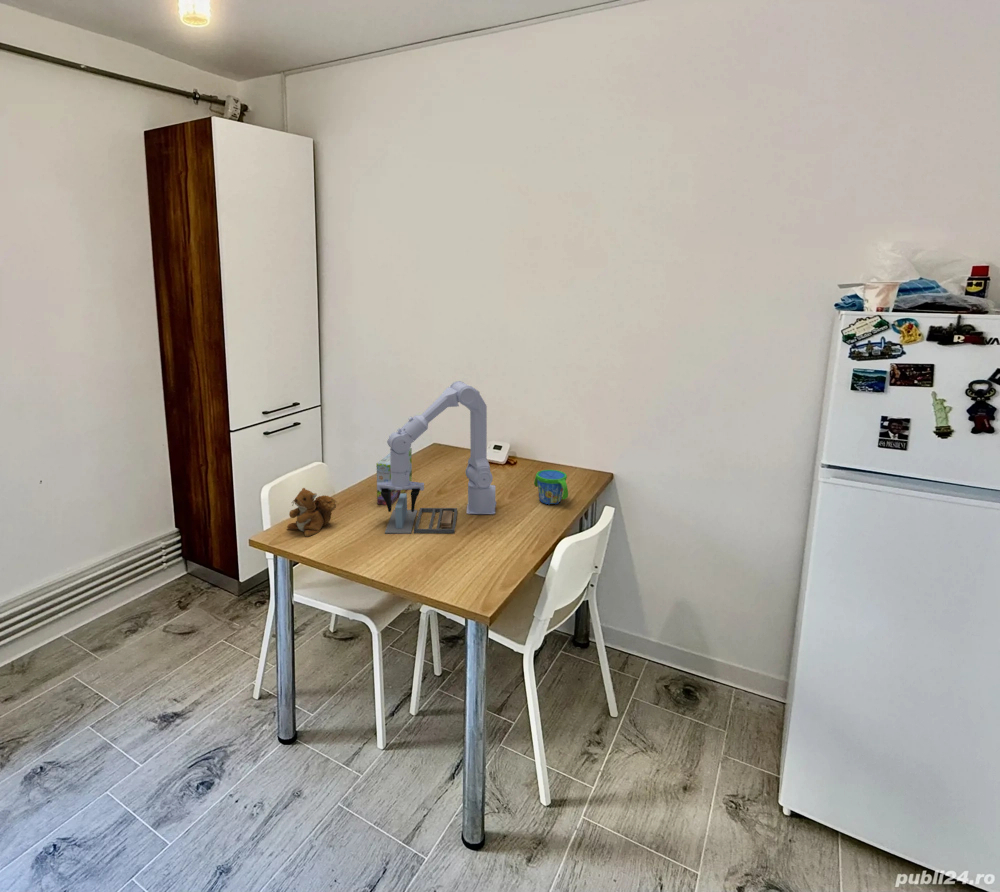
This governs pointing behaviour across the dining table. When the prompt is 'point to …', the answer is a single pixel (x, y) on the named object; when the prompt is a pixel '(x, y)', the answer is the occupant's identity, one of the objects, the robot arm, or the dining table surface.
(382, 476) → the snack box
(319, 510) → the stuffed squirrel
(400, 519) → the blue-grey rectangular block
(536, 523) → the dining table surface
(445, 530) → the metal rack
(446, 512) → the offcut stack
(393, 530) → the charcoal mat
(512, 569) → the dining table surface
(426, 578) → the dining table surface
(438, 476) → the dining table surface
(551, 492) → the snack cup
